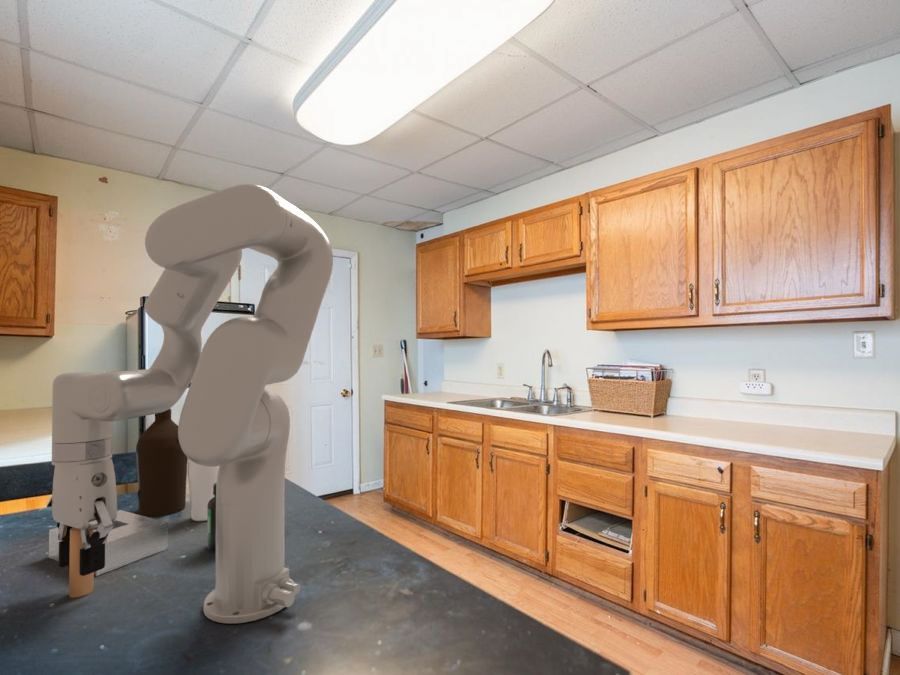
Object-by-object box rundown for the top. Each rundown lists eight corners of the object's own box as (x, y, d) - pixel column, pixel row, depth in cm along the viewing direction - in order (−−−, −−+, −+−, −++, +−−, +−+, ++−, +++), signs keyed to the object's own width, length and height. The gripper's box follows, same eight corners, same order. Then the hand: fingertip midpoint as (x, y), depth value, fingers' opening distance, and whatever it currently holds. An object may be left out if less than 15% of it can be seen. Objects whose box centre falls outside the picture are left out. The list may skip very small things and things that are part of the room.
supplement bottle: (202, 555, 87) (202, 489, 87) (213, 540, 93) (213, 479, 94) (242, 551, 88) (242, 486, 88) (249, 537, 95) (249, 477, 95)
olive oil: (194, 501, 118) (195, 401, 118) (178, 516, 107) (178, 406, 108) (148, 504, 116) (148, 402, 116) (126, 519, 105) (127, 407, 106)
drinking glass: (227, 516, 107) (227, 449, 107) (198, 525, 101) (198, 455, 102) (210, 510, 111) (210, 446, 111) (181, 519, 105) (181, 452, 105)
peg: (97, 590, 74) (98, 526, 74) (75, 599, 71) (76, 532, 72) (87, 586, 75) (88, 523, 76) (65, 594, 73) (65, 529, 73)
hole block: (167, 548, 89) (167, 522, 90) (96, 576, 79) (96, 545, 79) (119, 534, 97) (119, 509, 97) (48, 557, 86) (49, 530, 86)
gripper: (139, 451, 73) (139, 569, 73) (81, 442, 81) (80, 548, 81) (84, 461, 67) (83, 591, 66) (26, 450, 75) (25, 566, 74)
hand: (81, 566), depth 73 cm, fingers open, 5 cm apart
